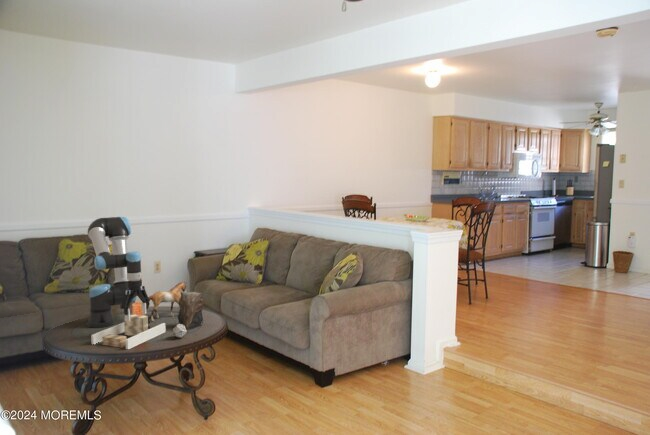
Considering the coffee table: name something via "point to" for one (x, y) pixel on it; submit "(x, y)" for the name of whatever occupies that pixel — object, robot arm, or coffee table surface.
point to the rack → (132, 340)
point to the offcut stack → (114, 340)
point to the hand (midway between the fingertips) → (136, 317)
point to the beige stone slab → (135, 324)
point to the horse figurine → (166, 298)
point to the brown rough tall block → (190, 309)
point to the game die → (179, 330)
